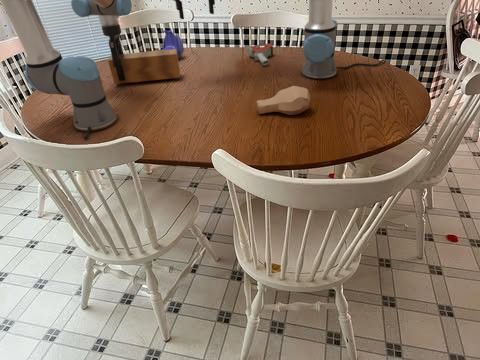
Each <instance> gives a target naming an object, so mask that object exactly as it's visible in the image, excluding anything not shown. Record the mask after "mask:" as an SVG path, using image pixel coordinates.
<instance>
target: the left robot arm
mask: <svg viewBox="0 0 480 360" xmlns="http://www.w3.org/2000/svg"><path fill="white" fill-rule="evenodd" d="M0 3H1V5H2V7H3V10H4V11H5V13H6V15H7V17H8V19H9V22H10V23H11V25H12V27H13V29H14V32H15V34H16V35H17V37H18V40H19V41H20V44H21V46H22V48H23V50H24V52H25V54H26V56H25V59H24V63H25V67H24V70H25V71H24V77H25V80H26V81H27V83H28V84H29V86H30V87H31V88H32V89H33V90H35V91H37V92H39V93H43V94H47V95H58V96H69V99H70V101H71V104H72V108H73V114H72V117H73V118H72V119H73V125H74V128H75V129H76V131H78V132H84V133H85V135H84V136H83V137H84V140H88V138H89V135H90V133H92V132H99V131H102V130H105V129H107V128H110V127H111V126H113V125H115V124H116V122H117V121H118V116H117V113H116V111H115V110H114V108H113V107H112V105H111V103H110V102H109V101H108V99H107V96H106V92H105V89H104V85H103V81H102V77H101V73H100V71H99V69H98V66H97V64H96V62H95V60H93V59H92V58H90V57H87V56H82V55H76V56H67V57H64V58H63V56H62V54H61V52H60V51H59V50H58V49H56V48H54V47H53V44H52V41H51V40H50V38H49V35H48V33H47V31H46V28H45V26H44V24H43V21H42V19H41V17H40V15H39V13H38V10H37V7H36V6H35V4H34V1H33V0H0ZM70 4H71V8H72V11H73V12H74V13H75V14H76V15H77V16H78V17H80V18H86V17H87V18H89V16H98V19H99V24H100V25H101V30H102V34H103V36H104V37H108V38H109V39H108V46H109V50H110V55H112V59H113V63H114V66H113V67H116V70H117V74H118V78H119V81H125V76H124V72H123V68H122V66H121V61H120V55H119V54H125V53H124V49H123V45H122V42H121V38H120V35H121V34H122V28H121V25H120V21H119V18H120V17H123V16H129V15H130V13H131V12H132V7H133V5H132V4H133V3H132V0H71V1H70ZM116 63H118V64H116Z"/></svg>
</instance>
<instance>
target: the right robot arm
mask: <svg viewBox="0 0 480 360" xmlns="http://www.w3.org/2000/svg"><path fill="white" fill-rule="evenodd" d="M172 1H174V2H175V8H176V11H178V13H179V19H180V20H184V19H185V14H184V8H183V1H181V0H172ZM215 5H216V0H208V10H209V14H211V15H215V9H214V6H215ZM332 16H333V0H308V21H307V23H306V24H305V25H304V41H303V45H302V53H303V55H304V58H305V60H304V62H303V66H302V71H301V74H302V76H303V77H305V78H307V79H312V80H328V79H332V78H334V77H336V75H337V69H341V70H346V69H350V68H351V67H353V66H367V67H376V66H379V65H380V64H382V63H383V62H384V63H386V62H387V61H386V60H385V59H381V60H380V61H379V62H378V63H363V62H361V63H360V62H358V63H351V64H349V65H348V66H337V65H336V59H335V50H336V49H335V48H336V38H337V29H338V21H337V20H335V19H332Z"/></svg>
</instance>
